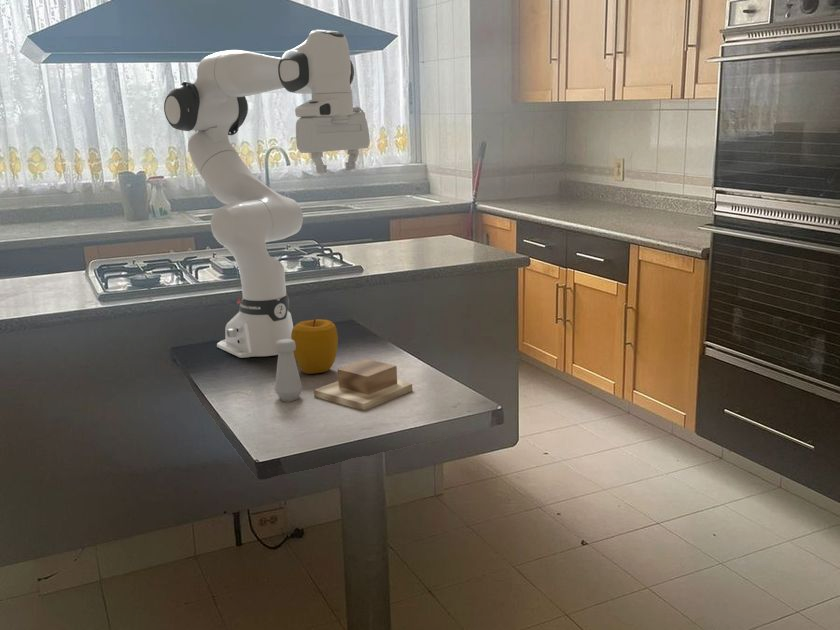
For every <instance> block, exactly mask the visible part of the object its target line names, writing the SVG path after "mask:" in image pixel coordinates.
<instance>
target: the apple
mask: <svg viewBox="0 0 840 630" xmlns="http://www.w3.org/2000/svg"><path fill="white" fill-rule="evenodd" d="M291 339H292V340H294V341H295V345H296V349H295V350H294V351H293V353H294V357H295V361H296V364H297V366H298V367H299V369H300V370H301V372H302V373H304V374H306V375H308V374H309V375H311V374H319V373H326V372H328V371H329V370H331V368H332V367H333V365H334V363H335V360H336V357H337V352H338V346H339V345H338V344H339V343H338V341H339V340H338V339H339V335H338V330H337V327H336V324H335V323H333V322H332V321H331V320H328V319H321V318H318V319H315V318H314V319H310V320H308V319H307V320H302V321H299V322H298V323H296V324H295V325H293V329H292V333H291Z"/></svg>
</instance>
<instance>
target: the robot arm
mask: <svg viewBox="0 0 840 630" xmlns="http://www.w3.org/2000/svg"><path fill="white" fill-rule="evenodd" d="M308 34H309V35H308V36H307V38H306V39H305V41H303V42H302V43H301V44H299V45H297V46H296V47H294V48H291V49H288V50H286V51H285V52H284V53H283V54H282V55H281V56H280V57H277V56H272V55H267V54H263V53H259V52H254V51H248V50H241V49H229V50H221V51H217V52H214V53H212V54H209V55H207V56H205V57H203V58H202V59H201V60H200V62H199V63H198V65H197V68H196V69H197V70H196V80H194V81H193V82H190V81H188V80H184V81H183V82H182V83H181V84H179V86H178V87H175V88H173V89H172V90H171V91H170V92H168V94H167V96H166V97H165V99H164V102H163V110H164V115H165V118H166V121H167V122H168V124H169V125H170V126H171V127H172V128H173V129H176V130H179V131H182V132H191V131H194V132H193V134H192V135H191V136H190V138H189V139H188V142H187V149H188V152H189V155H190V158H191V160H192V162H193V164H194V166H195V168H196V170H197V172H198V173H199V175H200V177H201V178H202V179H203V181H204V182H205V185H207V187H208V188H209V190H210V191H211V193H212V194H213V196H214V197H215V198H216V199H217V200H218V201H220V202H221V203H222V204H224V205H222V206H220V207H218V208H216V209H215V210H214V211H213V214H211V215H212V216H211V219H210V229H211V233H212V236H213V238H215V240H216V241H217V242H218V244H220V245H221V246H223V247H224V248H225V249H227V250H228V251H229V252H230V254H231V255H232V257H233V258H234V260H235V262H236V264H237V267H238V271H239V278H240V284H241V292H242V297H241V298H238V299H236V301H238V302H237V304H238V305H239V308H238V309H239V311H238V312H237V313H236V314H235V315H234V316H233V317H232V318H231V319H230V320H229V321H228V322H227V323H226V325H225V333H224V335H225V339H222V340H220V341H219V342H217V343H216V347H217V348H219V349H221V350H222V351H225V352H226V353H229V354H232V355H234V356H236V357H238V358H241V359H243V358H250V357H251V358H252V357H270V356H271V357H272V356H278V352H276V349H275V343H276V342H277V341H278V340H281V339H291V333H292V329H293V328H294V324H293V319H292V314H291V312H290V311H289V308H290V299H289V294H288V293H287V286H286V274H285V273H286V272H285V267H284V265H283V263H282V262H281V261H280V260H278V259H277V258H275V257H273V256H271V255H270V254H269V252H268V248H267V245H266V244H267V243H269V242H274V241H275V242H276V241H280V240H284V239H286V238H288V237H292V236H294V235H296V234H297V233H298V232H300V231H301V229H302V226H303V222H304V216H303V215H304V213H303V210H302V208H301V206H300V204H299V203H298V201H296V200H295V199H293V198H290V197H287V196H285V195H283V194H280V193H279V192H276V191H275V190H273V189H272V188H271V187H269V186H267V185H266V184H265V183H264V182H262V180H260V179H259V178H258V177H256V175H255V174H254V173H253V172H252V171H251V169H250V168H249V167H248V165H247V164H246V163H245V162H244V161H243V159H242V158H241V155H239V153H238V152H237V150H236V149H235V148H234V147H233V145H232V143H231V142H230V140H229V136H233V135H235V134H238V131H239V128H240V127H241V126H242V125H243V124H244V122H245V120H246V118H247V117H248V113H249V105H248V100H247V98H246V97H250V96H254V95H259V94H262V93H267V92H272V91H275V90H280V89H281V90H282V89H285V90H286V91H287V92H289V93H293V94H299V95H300V94H304V95H305V94H310V95H311V99H309V100H307V101H306V102H304V103H301V104H300V105H298V106H296V107H295V109H294V110H295V111H294V113H295V116H296V117H297V118H298V119H297V120H296V122H295V139H296V141H295V142H296V148H297V150H298V151H299V152H300V153H302V154H311V155H310V157H311V159H312V162H313V163H314V165H315V168H316V173H317V174H321V175H322V174H326V173H328V168H327V164H324V161H323V160H322V158H323V157H324V154H323V153H326V152H337V151H338V152H339V151H347V155H349V156H348V159H347V161H346V162H344V163H345V170H346V171H355V170H356V168H357V165H356V162H357V160H358V157H359V156H360V155H359V152H360V151H359V150H360V149H361V150H363V149H368V148H369V145H370V143H371V140H370V132H369V131H370V130H369V125H368V121H367V118H366V113H365V112H364V110H363V109H362V108H361V107H360V106H355V107H354V103H353V102H354V100H353V89H352V86H351V85H352V84H353V80H354V77H355V68H354V65H353V62H352V60H351V55H350V54H351V53H350V48H349V43H348V40H347V38H346V35H345V34H344V33H342V32H340V31H338V30H337V31H336V30H328V29H314V30H312V31H310V33H308Z"/></svg>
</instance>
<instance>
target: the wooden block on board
mask: <svg viewBox="0 0 840 630" xmlns="http://www.w3.org/2000/svg"><path fill="white" fill-rule="evenodd" d="M397 369H398V368H397V365H395V364H391V363H387V362H382V361H377V360H372V359H369V358H365V359H362V360H360V361H357V362H354V363H351V364H349V365H345V366H343V367H340V368H337V381H334V382H331V383H329V384H326V385H323V386H320V387H318V388H315V389H313V395H314V397H315V398H318V399H322V400H326V401H330V402H333V403H336V404H340V405H343V406H346V407H349V408H353V409H357V410H360V411H367V410H369V409H371V408H374V407H377V406H378V405H381V404H383V403H386V402H388V401H391V400H393V399H396V398H397V397H400V396H403V395H405V394H407V393H410V392H412V391H413V384H412V383H410V382H405V381H401V380H398V370H397Z"/></svg>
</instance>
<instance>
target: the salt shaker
mask: <svg viewBox="0 0 840 630" xmlns="http://www.w3.org/2000/svg"><path fill="white" fill-rule="evenodd" d="M275 349H276V352H278V355H277V364H276V373H275V384H274V391H275V393H276V395H277V396H278V398H279V400H280V399H281V400H280V401H281V402H290V403H291V402H294V401H297V400H299V397H300V396H301V394H302V390H303V384H302V381H301V378H300V373H299V369H298V364H297V361H296V359H295V356H294V353H293V351H294V350H295V349H296V345H295V341H294V340H292V339H281V340H278V341H277V342H276V343H275Z"/></svg>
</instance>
